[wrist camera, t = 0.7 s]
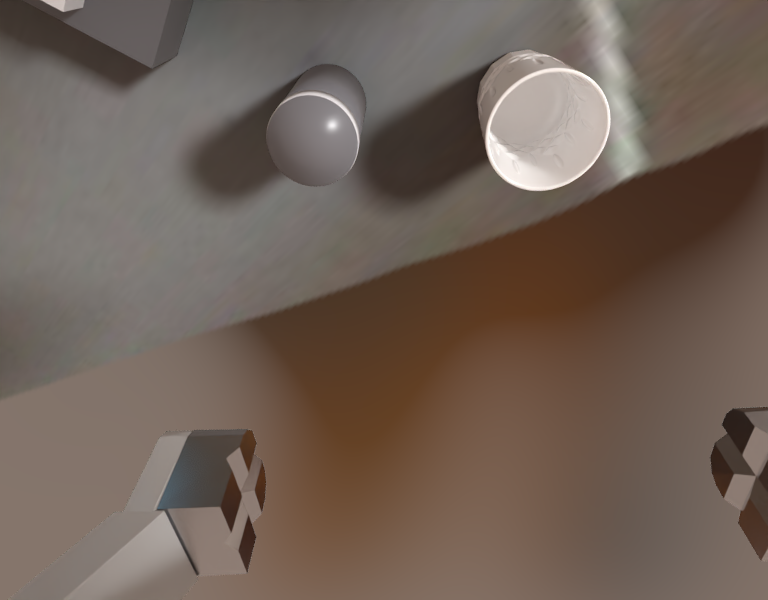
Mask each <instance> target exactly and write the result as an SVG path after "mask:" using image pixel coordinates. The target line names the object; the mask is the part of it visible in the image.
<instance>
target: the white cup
mask: <svg viewBox="0 0 768 600" xmlns="http://www.w3.org/2000/svg"><path fill="white" fill-rule="evenodd" d="M477 105H478V113H479V121H480V127H481V132H482V136H483V139H484V143H485V147H486V152H487V155H488V158H489V161H490V163H491V165H492V167H493V168H494V170H495V171H496V172H497V173H498V175H499V176H500V177H501V178H503V179H504V180H505V181H507V182H508V183H510V184H511V185H513V186H516V187H518V188H521V189H525V190H531V191H544V190H551V189H555V188H558V187H561V186H564V185H566V184H568V183H570V182H572V181H574V180H575V179H577V178H578V177H580V176H581V175H582V174H583V173H585V172H586V171H587V170H588V169H589V168H590V167H591V166H592V165H593V163H594V162H595V161H596V160H597V158H598V157H599V155H600V154H601V152H602V150H603V148H604V146H605V143H606V141H607V138H608V134H609V129H610V110H609V105H608V102H607V99H606V97H605V95H604V93H603V91H602V90H601V88H600V87H599V86H598V85H597V84H596V83H595V82H594V81H593V80H592V79H591V78H589V77H588V76H586V75H585V74H583V73H581V72H579V71H577V70H576V69H574V68H572V67H571V66H569V65H567V64H565V63H564V62H562V61H560V60H558V59H555V58H553V57H551V56H548V55H545V54H541V53H538V52H535V51H533V50H530V49H528V50H522V51H516V52H509V53H508V54H506V55H505V56H503V57H502V58H500V59H499V60H497V61H496V62H494V63H493V64H492V65H491V66H490V68H489V69H488V71H487V72H486V74H485V75H484V77H483V78H482V80H481V81H480V85H479V91H478V97H477Z"/></svg>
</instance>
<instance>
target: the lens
mask: <svg viewBox="0 0 768 600" xmlns="http://www.w3.org/2000/svg"><path fill="white" fill-rule="evenodd" d="M365 112H366V97H365V93H364V90H363V88H362V86H361V84H360V83H359V81H358V80H357V78H356V77H355V76H354V75H353V74H352V73H350V72H349V71H348V70H346V69H344V68H342V67H340V66H337V65H332V64H322V65H318V66H315V67H312V68H310V69H309V70H307V71H306V72H305V73H304V74H303V75H302V76H301V77H300V78H299V80H298V81H297V82H296V84H295V85H294V86H293V88H292V89H291V91H290V92H289V93H288V95H287V96H286V97H285V99H284V100H283V101H282V102H281V103H280V104H279V106H278V107H277V108H276V110H275V111H274V113H273V114H272V116H271V118H270V120H269V123H268V127H267V135H266V138H267V146H268V150H269V153H270V156H271V158H272V160H273V162H274V163H275V165H276V166H277V167H278V169H279V170H280V171H281V172H282V173H283V174H284V175H286V176H287V177H288V178H290V179H291V180H293V181H295V182H297V183H300V184H303V185H307V186H325V185H329V184H332V183H334V182H336V181H338V180H339V179H341V178H342V177H344V176H345V175H346V174H347V173H348V172H349V170H350V169H351V168H352V166H353V164H354V162H355V160H356V157H357V154H358V149H359V143H360V136H361V131H362V127H363V122H364V117H365Z"/></svg>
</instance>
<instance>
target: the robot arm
mask: <svg viewBox="0 0 768 600" xmlns="http://www.w3.org/2000/svg"><path fill="white" fill-rule="evenodd" d="M722 426H723V427H724V429H725V430H726V432H727V434H726V435H725V436H724V437H722V438H721V439H719V440H718V441H717V442H715V444H714V447H713V450H712V453H711V456H710V460H711V471H712V475H713V478H714V481H715V484H716V486H717V488H718V490H719V491H720V493H721V495H722V496H723V498H724V499H725V500H726V501H728V502H729V503H730V504H732V505H733V506H735V507H736V508H738V509H739V510H740V516H739V521H738V524H739V525H740V527H741V529H742V530H743V532H744V534H745V535H746V537H747V539H748V540H749V542H750V544H751V545H752V547H753V549H754V550H755V552H756V554H757V555H758V557H759V559H760V560H761V561H768V407H750V408H733V409H732V410H730V411H729V412H728V413H727V414H726V416H725V418H724V420H723V423H722ZM256 444H257V442H256V439H255V437H254V434H253V431H252V430H248V429H237V430H194V431H166V432H165V433H164V434H163V435H162V436H161V437H160V438H159V439H158V441H157V443H156V445H155V447H154V449H153V451H152V453H151V455H150V457H149V460H148V462H147V464H146V466H145V468H144V470H143V472H142V474H141V476H140V478H139V480H138V482H137V484H136V486H135V488H134V490H133V492H132V494H131V496H130V498H129V500H128V502H127V504H126V507H125V508H124V510H123V512H114V513H113V514H111V515H110V516H109V517H108V518H107V519H105V520H104V521H103V522H102V523H101V524H99V525H98V526H97V527H96V528H94V529H93V530H92V531H91V532H89V533H88V534H87V535H86V536H85V537H83V538H82V539H81V540H80V541H79V542H77V543H76V544H75V545H74V546H73V547H71V548H70V549H69V550H68V551H66V552H65V553H64V554H63V555H61V556H60V557H59V558H58V559H57V560H55V561H54V562H53V563H52V564H50V565H49V566H48V567H47V568H46V569H44V570H43V571H42V572H41V573H40V574H38V575H37V576H36V577H35V578H33V579H32V580H31V581H30V582H29V583H27V584H26V585H25V586H24V587H23V588H21V589H20V590H19V591H18V592H16V593H15V594H14V595H13V596H12V597H10V598H9V599H8V600H182V599H183V597H184V596H185V595H186V594H187V593H188V592H189V590H190V589H191V588H192V587H193V585H194V584H195V583H196V582H197V580H198V577H197V576H213V575H230V574H247V573H248V569H249V565H250V561H251V556H252V552H253V548H254V544H255V540H256V535H255V532H254V529H253V526H252V523H253V522H254V521H255V520H256V519H257V518H258V517H259V516H260V515H261V514H262V511H263V506H264V502H265V494H266V475H265V468H264V465H263V462H262V460H261V459H260V458H258V457H257V456H256V455H254V452H255V448H256Z"/></svg>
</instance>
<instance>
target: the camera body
mask: <svg viewBox="0 0 768 600" xmlns="http://www.w3.org/2000/svg"><path fill="white" fill-rule="evenodd" d="M22 1H24V2H26V3H28V4H30V5H32V6H34V7H36V8H37V9H39V10H41V11H43V12H45V13H47V14H49V15H51V16H53V17H55V18H56V19H58V20H60V21H62V22H64V23H66V24H68V25H70V26H72V27H74V28H75V29H77V30H79V31H81V32H83V33H85V34H87V35H89V36H91V37H93V38H94V39H96V40H98V41H100V42H102V43H104V44H106V45H108V46H110V47H112V48H113V49H115V50H117V51H119V52H121V53H123V54H125V55H127V56H129V57H131V58H132V59H134V60H136V61H138V62H140V63H142V64H144V65H146V66H148V67H150V68H151V69H153V68H155V67H156V66H158V65H160V64H162V63H164V62H166V61H168V60H170V59H171V58H173V57H175V56H177V54H178V50H179V47H180V44H181V40H182V37H183V34H184V30H185V27H186V23H187V20H188V17H189V13H190V10H191V7H192V3H193V0H22Z"/></svg>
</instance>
